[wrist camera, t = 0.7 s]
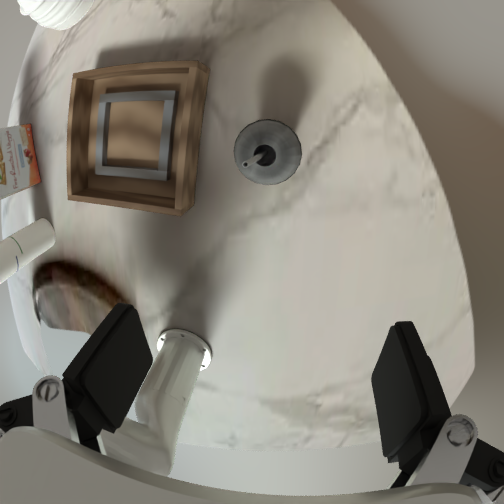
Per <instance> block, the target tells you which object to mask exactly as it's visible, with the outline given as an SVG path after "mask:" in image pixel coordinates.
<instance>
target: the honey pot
mask: <svg viewBox="0 0 504 504" xmlns="http://www.w3.org/2000/svg"><path fill="white" fill-rule="evenodd" d="M94 1H95V0H18V3H19V5H20V11H21V14H22V15H30V17H31V18H32V19H33V20H35V21H36V22H38V24H39V25H41V26H43V27H48V28H52V29H56V30H65V29H68V28H70V27H72V26H73V25H75V24H76V23H77V22H79V21H80V20H81V19H82V18H83V17H84V16H85V14H86V13H87V12H88V11H89V9H90V8H91V6H92V4H93V3H94Z"/></svg>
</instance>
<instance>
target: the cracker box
mask: <svg viewBox="0 0 504 504" xmlns="http://www.w3.org/2000/svg"><path fill="white" fill-rule="evenodd" d="M40 182H41V180H40V175H39V171H38V166H37V161H36V155H35V150H34V144H33V137H32V130H31V124H26V125H19V126H13V127H7V128H1V129H0V200H1V199H3V198H6V197H8V196H10V195H13V194H15V193H17V192H20V191H22V190H25V189H27V188H30V187H32V186H34V185H36V184H38V183H40Z"/></svg>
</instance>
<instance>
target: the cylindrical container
mask: <svg viewBox="0 0 504 504" xmlns="http://www.w3.org/2000/svg"><path fill="white" fill-rule="evenodd" d="M54 243H55V232H54V229H53V227H52V225H51V224H50V222H49V221H48V220H46V219H44V218H41V219H39V220H37V221H35V222H34V223H32V224H30V225H28V226H26V227H25V228H23V229H21V230H19V231H18V232H16V233H14V234H12V235H11V236H9V237H7V238H6V239H4V240H2V241H1V242H0V284H1V283H2V282H4V281H5V280H6V279H8V278H9V277H10V276H11V275H13V274H14V273H15V272H17V271H18V270H19V269H21V268H22V267H23V266H25V265H26V264H28V263H29V262H30V261H32V260H33V259H35V258H36V257H37V256H39V255H40V254H42V253H43V252H45V251H46V250H48V249H49V248H51V247H52V246H53V245H54Z"/></svg>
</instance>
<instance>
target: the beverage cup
mask: <svg viewBox="0 0 504 504" xmlns="http://www.w3.org/2000/svg"><path fill="white" fill-rule="evenodd" d="M234 156H235V162H236V164H237V166H238V168H239V170H240V171H241V172H242V174H243V175H244V176H245V177H246V178H248V179H250V180H251V181H253V182H255V183H259V184H263V185H273V184H278V183H281V182H283V181H286V180H287V179H288V178H289V177H291V176H292V175H293V174H294V173H295V171H296V170H297V168H298V167H299V165H300V161H301V156H302V151H301V143H300V141H299V139H298V137H297V135H296V134H295V132H294V131H293V130H292V129H291V128H290V127H289V126H287V125H285V124H284V123H282V122H280V121H276V120H271V119H266V120H258V121H256V122H253V123H251V124H249V125H248V126H246V127H245V128H244V129H243V130H242V131H241V132H240V134H239V136H238V138H237V139H236V142H235V147H234Z"/></svg>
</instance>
